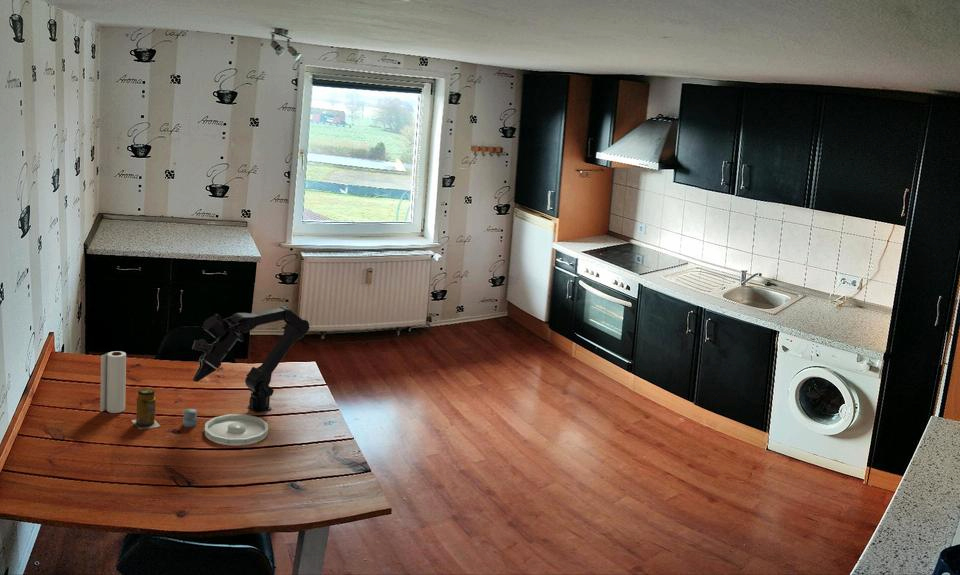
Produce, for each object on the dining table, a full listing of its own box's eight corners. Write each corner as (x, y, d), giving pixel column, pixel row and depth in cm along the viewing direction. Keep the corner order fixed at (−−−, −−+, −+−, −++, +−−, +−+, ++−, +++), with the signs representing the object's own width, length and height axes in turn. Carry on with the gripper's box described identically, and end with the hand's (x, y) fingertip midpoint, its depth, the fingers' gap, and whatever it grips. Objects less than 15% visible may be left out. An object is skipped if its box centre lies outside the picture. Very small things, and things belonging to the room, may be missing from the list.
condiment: (152, 417, 294) (153, 385, 291) (160, 426, 287) (161, 394, 284) (131, 420, 289) (131, 388, 286) (138, 430, 283) (139, 397, 280)
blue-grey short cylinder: (192, 421, 295) (192, 407, 294) (198, 425, 292) (199, 412, 291) (180, 423, 292) (181, 410, 290) (186, 428, 289) (187, 414, 287)
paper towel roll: (127, 407, 299) (128, 351, 294) (121, 414, 293) (122, 357, 288) (107, 405, 298) (108, 349, 293) (100, 412, 293) (100, 354, 287)
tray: (246, 415, 304) (247, 410, 304) (279, 436, 291) (279, 430, 290) (193, 428, 289) (193, 422, 288) (224, 450, 275) (225, 444, 275)
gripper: (202, 332, 300) (174, 367, 295) (206, 329, 283) (176, 367, 278) (227, 350, 303) (200, 385, 298) (233, 349, 286) (204, 386, 281)
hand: (194, 380), depth 289 cm, fingers open, 9 cm apart
